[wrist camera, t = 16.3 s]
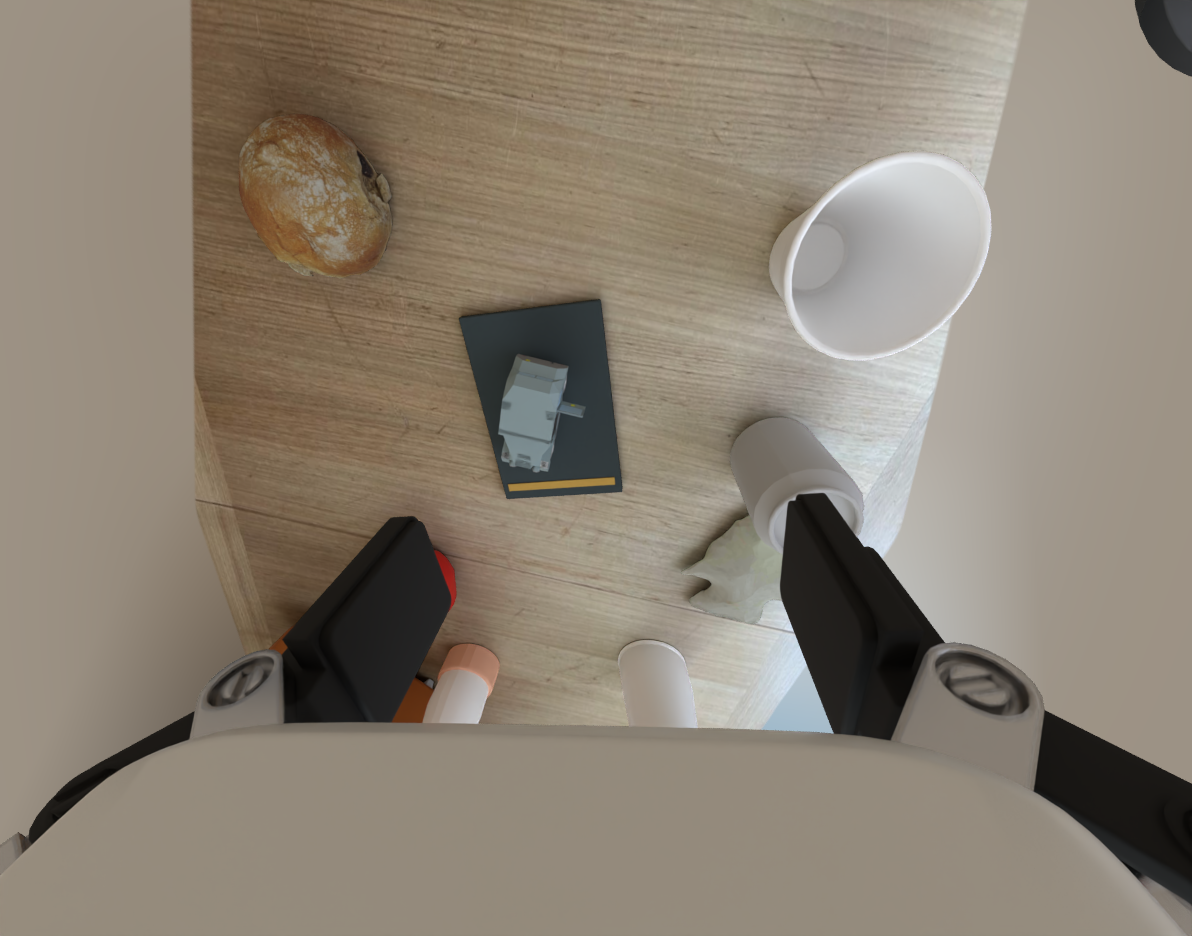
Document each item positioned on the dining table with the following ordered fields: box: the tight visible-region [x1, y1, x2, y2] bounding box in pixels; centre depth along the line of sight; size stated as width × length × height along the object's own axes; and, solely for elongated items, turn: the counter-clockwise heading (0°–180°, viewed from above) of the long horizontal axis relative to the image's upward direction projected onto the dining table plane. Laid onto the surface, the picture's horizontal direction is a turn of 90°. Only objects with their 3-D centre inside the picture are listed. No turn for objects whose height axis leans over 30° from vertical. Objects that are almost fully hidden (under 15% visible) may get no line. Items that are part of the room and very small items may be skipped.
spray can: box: [618, 640, 698, 728], centre depth 45 cm, size 12×11×25 cm
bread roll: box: [239, 114, 392, 279], centre depth 31 cm, size 10×10×8 cm
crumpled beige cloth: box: [681, 515, 783, 624], centre depth 44 cm, size 12×3×15 cm
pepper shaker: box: [422, 643, 500, 724], centre depth 50 cm, size 7×7×19 cm
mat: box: [459, 299, 622, 499], centre depth 39 cm, size 12×18×1 cm, turn 7°
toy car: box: [498, 354, 586, 473], centre depth 37 cm, size 6×10×5 cm, turn 168°
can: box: [730, 417, 864, 555], centre depth 34 cm, size 8×8×12 cm
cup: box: [769, 151, 991, 360], centre depth 27 cm, size 10×10×11 cm
